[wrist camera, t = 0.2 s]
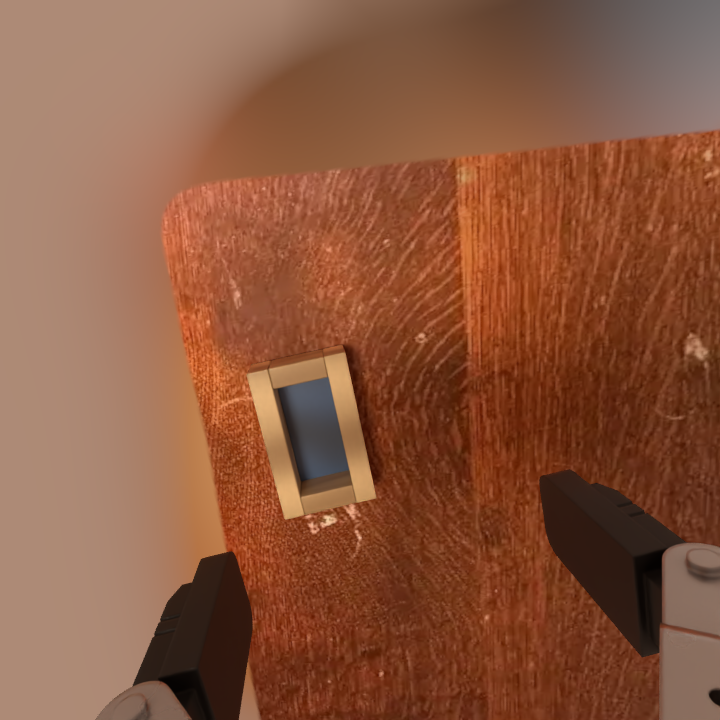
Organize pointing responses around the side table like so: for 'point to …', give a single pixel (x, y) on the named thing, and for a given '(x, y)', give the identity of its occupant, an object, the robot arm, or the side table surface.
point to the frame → (312, 431)
